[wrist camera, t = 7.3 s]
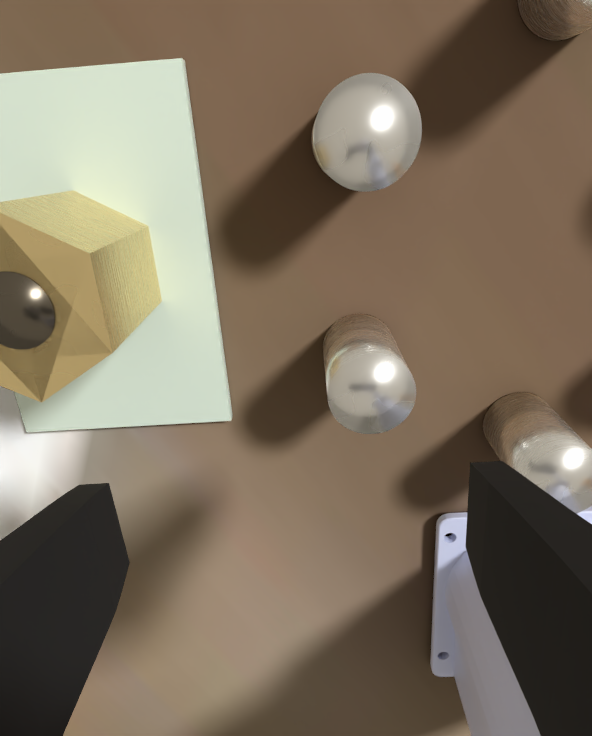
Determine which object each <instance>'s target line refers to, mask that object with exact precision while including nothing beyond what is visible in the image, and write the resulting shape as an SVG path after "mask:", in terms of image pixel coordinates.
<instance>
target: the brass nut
mask: <svg viewBox="0 0 592 736" xmlns="http://www.w3.org/2000/svg"><path fill="white" fill-rule="evenodd" d="M161 302H162V298H161V293H160V287H159V282H158V276H157V271H156V265H155V260H154V254H153V249H152V243H151V238H150V232H149V226H147V225H145V224H143V223H141V222H139V221H137V220H135V219H133V218H131V217H128V216H126V215H124V214H122V213H120V212H118V211H116V210H114V209H112V208H109V207H107V206H105V205H103V204H101V203H99V202H97V201H95V200H93V199H91V198H88V197H86V196H84V195H82V194H80V193H78V192H76V191H74V190H72V191H66V192H60V193H53V194H47V195H41V196H35V197H28V198H22V199H16V200H10V201H3V202H0V386H2V387H4V388H7V389H9V390H12V391H14V392H17V393H19V394H22V395H24V396H27V397H29V398H32V399H34V400H37V401H39V402H41V403H42V402H43V401H45V400H46V399H48V398H49V397H50V396H52V395H53V394H55V393H56V392H58V391H59V390H60V389H62V388H63V387H65V386H66V385H68V384H69V383H70V382H72V381H73V380H75V379H76V378H78V377H79V376H80V375H82V374H83V373H85V372H86V371H88V370H89V369H90V368H92V367H93V366H95V365H96V364H98V363H99V362H100V361H102V360H103V359H105V358H106V357H108V356H109V355H110V354H112V353H113V352H114V351H115V350H116V349H117V348H118V347H119V346H120V345H121V344H122V343H123V341H124V340H125V339H126V338H127V337H128V336H129V335H130V334H131V333H132V332H133V331H134V330H135V329H136V328H137V327H138V326H139V325H140V324H141V323H142V322H143V321H144V319H145V318H146V317H147V316H148V315H149V314H150V313H151V312H152V311H153V310H154V309H155V308H156V307H157V306H158V305H159V304H160V303H161Z"/></svg>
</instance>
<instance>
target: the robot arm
mask: <svg viewBox="0 0 592 736" xmlns="http://www.w3.org/2000/svg"><path fill="white" fill-rule="evenodd" d="M448 533H453V534H452V535H451V536H445V535H446V534H448ZM128 566H129V559H128V555H127V551H126V547H125V543H124V540H123V536H122V532H121V528H120V524H119V520H118V517H117V513H116V509H115V505H114V501H113V497H112V494H111V490H110V486H109V483H103V484H86V485H78V486H77V487H75V488H74V489H72V490H70V491H69V492H67V493H66V494H64V495H63V496H61V497H60V498H59V499H57V500H56V501H54V502H53V503H51V504H50V505H49V506H47V507H46V508H45V509H43V510H42V511H40V512H39V513H38V514H36V515H35V516H34V517H32V518H31V519H30V520H28V521H27V522H25V523H24V524H23V525H21V526H20V527H19V528H17V529H16V530H14V531H13V532H12V533H10V534H9V535H8V536H6V537H5V538H3V539H2V540H1V541H0V736H63V734H64V731H65V729H66V726H67V724H68V722H69V719H70V717H71V715H72V712H73V710H74V708H75V706H76V703H77V701H78V699H79V696H80V694H81V692H82V689H83V687H84V685H85V682H86V680H87V678H88V675H89V673H90V671H91V669H92V666H93V664H94V662H95V659H96V657H97V655H98V652H99V650H100V648H101V645H102V643H103V641H104V638H105V636H106V633H107V631H108V629H109V626H110V624H111V622H112V619H113V617H114V614H115V612H116V609H117V605H118V602H119V599H120V595H121V592H122V589H123V585H124V581H125V577H126V574H127V570H128ZM430 665H431V669H432V673H433V674H434V675H436V676H438V677H454V678H455V681H456V685H457V688H458V691H459V695H460V698H461V702H462V705H463V709H464V712H465V716H466V719H467V723H468V726H469V730H470V733H471V736H592V506H590V507H589V508H587V509H586V510H584V511H582V512H579V513H577V514H576V513H575V512H573V511H572V510H570V509H569V508H568V507H566V506H565V505H563V504H562V503H561V502H559V501H558V500H556V499H555V498H554V497H552V496H551V495H549V494H548V493H547V492H545V491H544V490H542V489H541V488H540V487H538V486H537V485H536V484H534V483H533V482H531V481H530V480H529V479H527V478H526V477H525V476H523V475H522V474H520V473H519V472H518V471H516V470H515V469H513V468H512V467H510V466H509V465H507V464H506V463H504V462H503V461H494V462H476V463H470V477H469V494H468V511H467V512H462V513H447V514H444V515H442V516H440V517H439V518H438V520H437V523H436V544H435V567H434V590H433V613H432V636H431V659H430Z"/></svg>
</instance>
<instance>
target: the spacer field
mask: <svg viewBox="0 0 592 736" xmlns="http://www.w3.org/2000/svg"><path fill="white" fill-rule="evenodd" d="M517 1H518V8H519V12H520V15H521V18H522V20H523V22H524V23H525V25H526V26H527V28H528V29H529V30H530V31H531V32H532V33H534V34H535V35H536V36H538V37H540V38H543V39H546V40H552V41H558V40H564V39H568V38H571V37H573V36H575V35H578V34H580V33H582V32H585V31H587V30H589V29H592V0H517ZM421 136H422V122H421V116H420V112H419V109H418V106H417V104H416V102H415V100H414V98H413V96H412V95H411V93H410V92H409V91H408V90H407V89H406V88H405V87H404V86H403V85H402V84H401V83H400V82H398V81H397V80H395V79H393V78H391V77H389V76H386V75H383V74H377V73H364V74H359V75H355V76H352V77H350V78H348V79H346V80H344V81H343V82H341V83H340V84H338V85H337V86H336V87H335V88H334V89H333V90H332V91H331V92H330V93H329V94H328V95H327V97H326V98H325V100H324V101H323V103H322V105H321V107H320V109H319V111H318V114H317V117H316V119H315V122H314V125H313V129H312V136H311V143H312V150H313V154H314V157H315V159H316V161H317V163H318V165H319V166H320V168H321V169H322V170H323V171H324V172H325V173H326V174H327V175H328V176H329V177H331V178H332V179H333V180H334V181H335V182H337V183H338V184H340V185H342V186H343V187H346V188H348V189H351V190H355V191H375V190H379V189H382V188H384V187H387V186H389V185H391V184H392V183H394V182H395V181H397V180H398V179H399V178H400V177H401V176H402V175H403V174H405V173H406V171H407V170H408V169H409V167H410V166H411V164H412V163H413V161H414V159H415V157H416V155H417V153H418V150H419V147H420V142H421ZM323 358H324V368H325V377H326V387H327V397H328V404H329V408H330V410H331V412H332V414H333V416H334V417H335V418H336V420H337V421H338V422H339V423H340V424H341V425H343V426H344V427H346V428H348V429H350V430H352V431H355V432H358V433H363V434H376V433H381V432H385V431H388V430H390V429H392V428H394V427H396V426H397V425H399V424H400V423H401V422H402V421H404V419H405V418H406V417H407V416H408V415H409V413H410V412H411V410H412V408H413V406H414V403H415V399H416V385H415V381H414V379H413V376H412V374H411V372H410V370H409V368H408V366H407V364H406V362H405V360H404V358H403V356H402V354H401V352H400V350H399V348H398V346H397V344H396V342H395V340H394V338H393V336H392V334H391V332H390V330H389V328H388V327H387V326H386V325H385V324H384V322H382V321H381V320H380V319H378V318H376V317H374V316H371V315H368V314H352V315H348V316H345V317H343V318H341V319H339V320H338V321H337V322H335V323H334V324H333V325H332V326H331V327H330V329H329V330H328V332H327V333H326V335H325V338H324V341H323ZM483 432H484V435H485V437H486V439H487V440H488V442H489V444H490V445H491V447H492V448H493V450H494V451H495V453H496V454H497V456H498V458H499V459H500V461H503V462H504V463H506V464H507V465H509V466H510V467H512V468H513V469H515V470H516V471H518V472H519V473H520V474H522V475H523V476H525V477H526V478H527V479H529V480H530V481H531V482H533V483H534V484H536V485H537V486H538V487H540V488H541V489H542V490H544V491H545V492H547V493H548V494H549V495H551V496H552V497H554V498H555V499H556V500H558V501H559V502H561V503H562V504H563V505H565V506H566V507H568V508H569V509H570V510H572V511H573V512H575V513H576V514H577V513H579V512H582V511H584V510H586V509H587V508H589V507H590V506H592V449H591V448H590V447H589V446H588V445H587V444H586V443H585V442H584V441H583V440H582V439H581V438H580V436H579V435H578V434H577V433H576V432H575V431H574V430H573V429H572V428H571V427H570V426H569V425H568V424H567V423H566V422H565V421H564V420H563V419H562V418H561V417H560V416H559V415H558V414H557V413H556V412H555V411H554V410H553V409H552V408H551V407H550V406H549V405H548V404H547V403H546V402H545V401H544V400H543V399H542V398H541V397H539V396H537V395H535V394H532V393H528V392H517V393H512V394H509V395H506V396H504V397H502V398H500V399H499V400H497V401H496V402H495V403H494V404H493V405H492V406H491V407H490V408H489V409H488V411H487V413H486V415H485V417H484V420H483Z"/></svg>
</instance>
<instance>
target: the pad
mask: <svg viewBox="0 0 592 736" xmlns="http://www.w3.org/2000/svg"><path fill="white" fill-rule="evenodd" d="M72 190H74V191H76V192H78V193H80V194H82V195H84V196H86V197H88V198H91V199H93V200H95V201H97V202H99V203H101V204H103V205H105V206H107V207H109V208H112V209H114V210H116V211H118V212H120V213H122V214H124V215H126V216H128V217H131V218H133V219H135V220H137V221H139V222H141V223H143V224H145V225H147V226H149V232H150V238H151V243H152V249H153V254H154V260H155V265H156V271H157V276H158V282H159V287H160V293H161V298H162V302H161V303H160V304H159V305H158V306H157V307H156V308H155V309H154V310H153V311H152V312H151V313H150V314H149V315H148V316H147V317H146V318H145V319H144V321H143V322H142V323H141V324H140V325H139V326H138V327H137V328H136V329H135V330H134V331H133V332H132V333H131V334H130V335H129V336H128V337H127V338H126V339H125V340H124V341H123V343H122V344H121V345H120V346H119V347H118V348H117V349H116V350H115V351H114V352H113V353H112V354H110V355H109V356H108V357H106V358H105V359H103V360H102V361H100V362H99V363H98V364H96V365H95V366H93V367H92V368H90V369H89V370H88V371H86V372H85V373H83V374H82V375H80V376H79V377H78V378H76V379H75V380H73V381H72V382H70V383H69V384H68V385H66V386H65V387H63V388H62V389H60V390H59V391H58V392H56V393H55V394H53V395H52V396H50V397H49V398H48V399H46V400H45V401H43V402H42V403H41V402H39V401H37V400H34V399H32V398H29V397H27V396H24V395H22V394H19V393H17V392H14V394H15V397H16V400H17V403H18V406H19V410H20V413H21V416H22V419H23V422H24V425H25V429H26V432H43V431H60V430H78V429H95V428H113V427H130V426H148V425H165V424H183V423H200V422H218V421H231V420H232V416H233V415H232V408H231V401H230V393H229V386H228V378H227V371H226V363H225V356H224V349H223V341H222V334H221V326H220V319H219V312H218V304H217V297H216V289H215V282H214V275H213V267H212V260H211V252H210V245H209V238H208V230H207V223H206V215H205V208H204V200H203V193H202V186H201V178H200V171H199V163H198V156H197V149H196V141H195V134H194V126H193V119H192V112H191V104H190V97H189V89H188V82H187V75H186V67H185V60H183V59H182V58H178V59H166V60H155V61H143V62H131V63H120V64H108V65H96V66H85V67H73V68H61V69H50V70H38V71H26V72H15V73H3V74H0V202H3V201H10V200H16V199H22V198H28V197H35V196H41V195H47V194H53V193H60V192H66V191H72Z"/></svg>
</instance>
